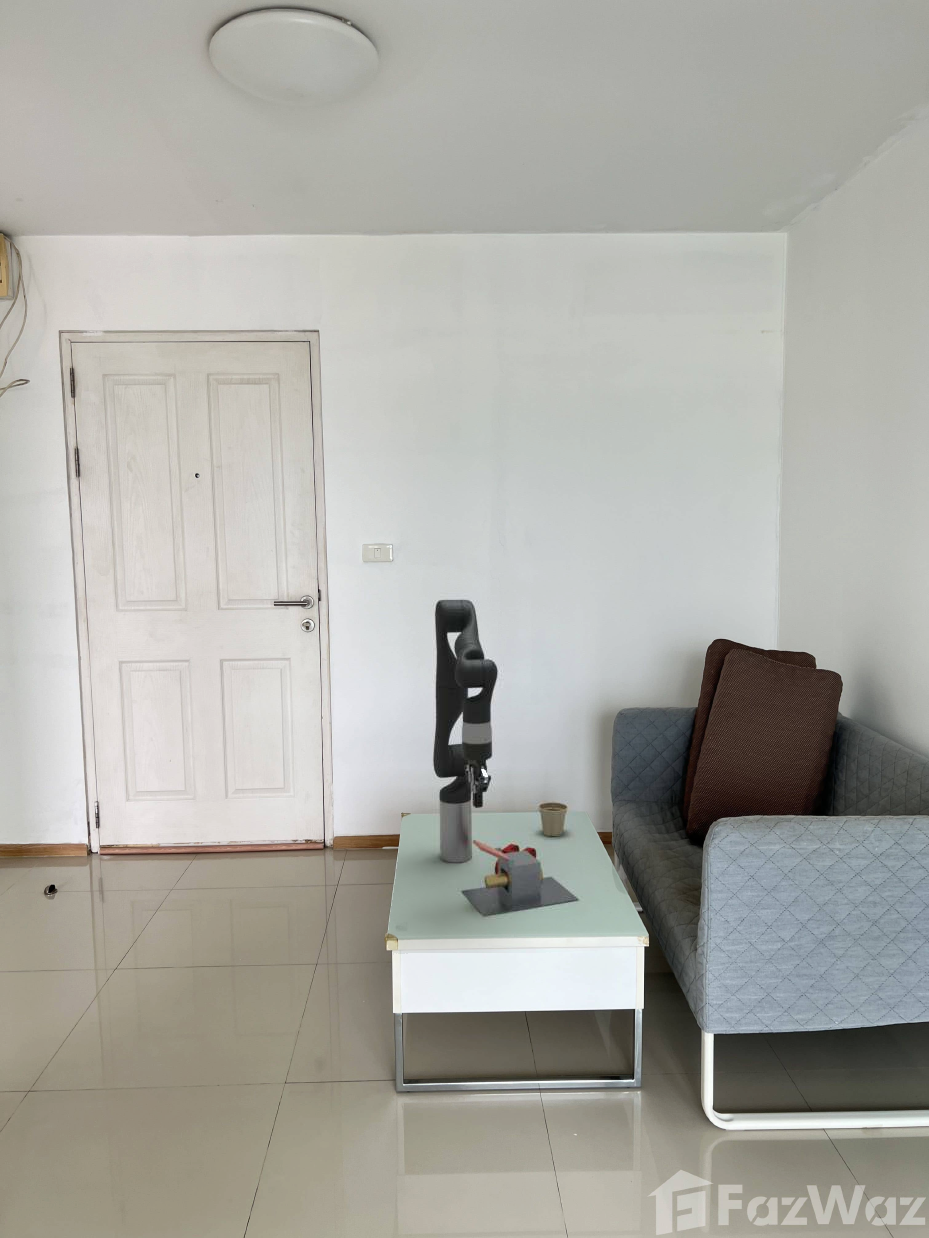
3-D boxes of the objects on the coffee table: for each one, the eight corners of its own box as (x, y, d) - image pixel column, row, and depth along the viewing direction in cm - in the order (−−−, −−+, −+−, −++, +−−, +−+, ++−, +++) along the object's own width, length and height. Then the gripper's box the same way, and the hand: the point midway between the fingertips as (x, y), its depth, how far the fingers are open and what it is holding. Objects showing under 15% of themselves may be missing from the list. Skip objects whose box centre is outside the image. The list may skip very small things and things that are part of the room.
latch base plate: (461, 891, 227) (460, 848, 226) (551, 877, 236) (551, 835, 235) (483, 916, 212) (483, 869, 211) (578, 900, 221) (578, 855, 220)
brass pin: (483, 888, 224) (482, 867, 223) (534, 880, 228) (533, 860, 228) (491, 897, 218) (490, 875, 218) (543, 888, 223) (543, 867, 223)
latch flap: (471, 841, 222) (473, 838, 222) (499, 854, 225) (501, 851, 225) (481, 851, 215) (483, 847, 216) (510, 864, 219) (512, 860, 219)
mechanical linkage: (514, 858, 251) (514, 841, 251) (536, 862, 248) (536, 845, 247) (487, 877, 238) (487, 859, 237) (510, 882, 234) (510, 864, 233)
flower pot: (573, 831, 273) (573, 804, 272) (560, 840, 265) (560, 812, 264) (546, 826, 278) (546, 800, 277) (532, 835, 270) (532, 808, 269)
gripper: (501, 743, 212) (501, 812, 213) (481, 732, 224) (481, 797, 226) (472, 746, 209) (473, 816, 211) (453, 734, 221) (454, 801, 223)
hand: (477, 806), depth 218 cm, fingers closed
